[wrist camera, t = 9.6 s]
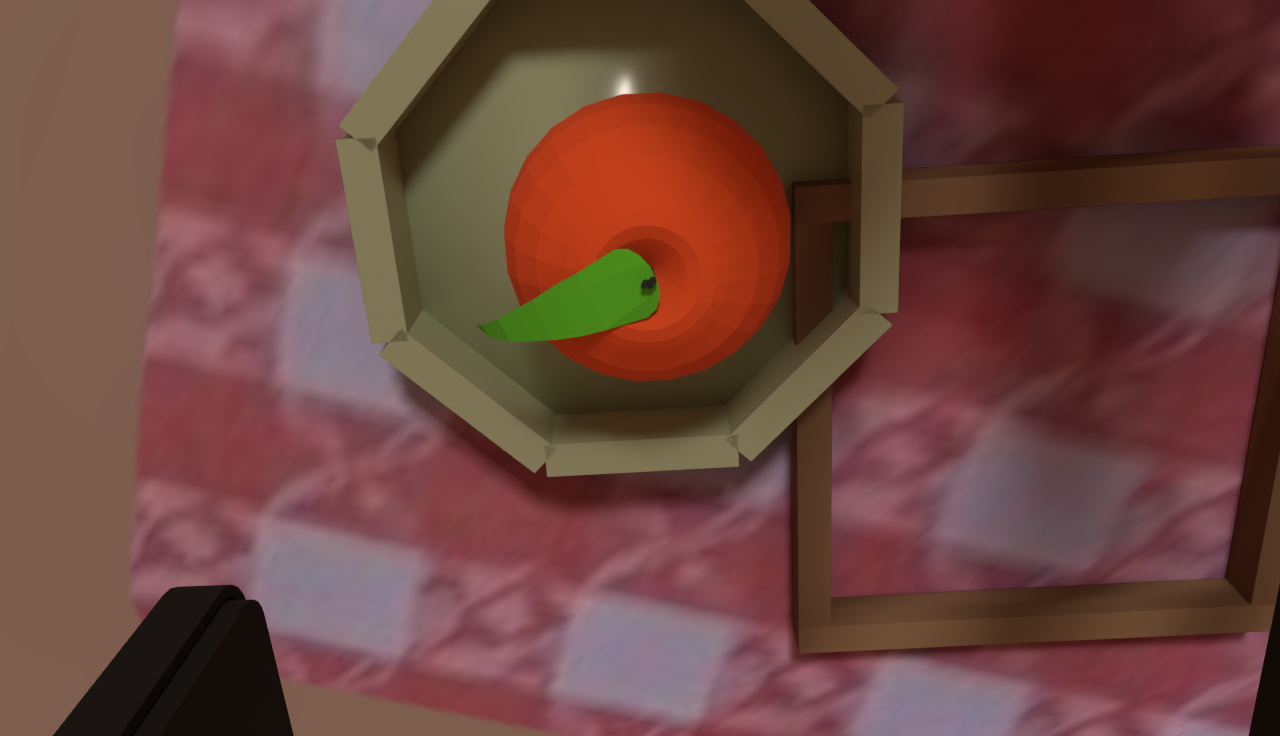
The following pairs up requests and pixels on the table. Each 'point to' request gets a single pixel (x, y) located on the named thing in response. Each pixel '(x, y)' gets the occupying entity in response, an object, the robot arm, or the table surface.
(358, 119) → the dish
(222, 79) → the table surface
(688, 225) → the clementine
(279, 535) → the table surface
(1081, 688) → the table surface
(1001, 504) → the table surface
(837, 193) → the brown rectangular frame
